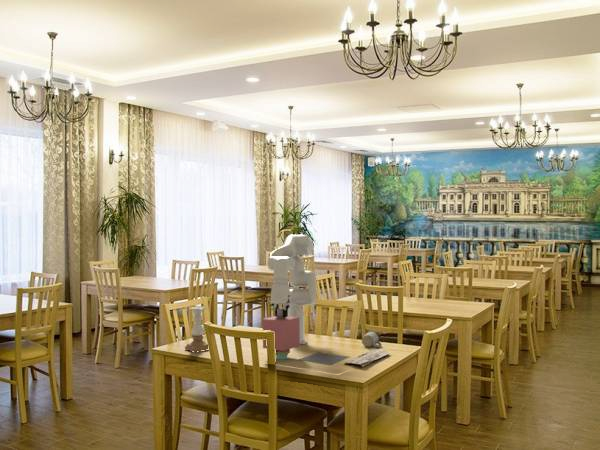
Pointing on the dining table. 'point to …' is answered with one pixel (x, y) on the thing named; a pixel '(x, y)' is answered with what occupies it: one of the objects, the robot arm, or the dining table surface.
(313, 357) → the mat
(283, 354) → the cupcake
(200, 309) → the candle holder
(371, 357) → the newspaper
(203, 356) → the dining table surface
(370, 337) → the ceramic mug
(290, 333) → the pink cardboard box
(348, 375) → the dining table surface
